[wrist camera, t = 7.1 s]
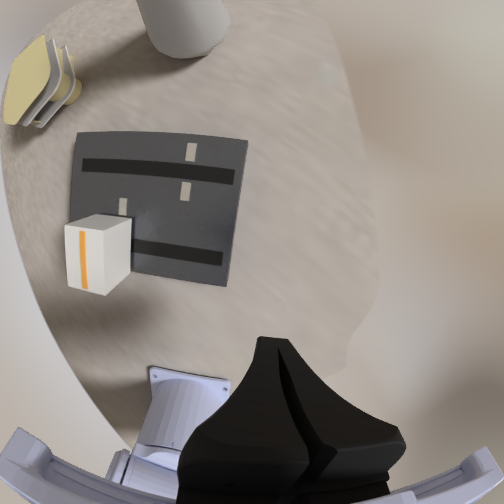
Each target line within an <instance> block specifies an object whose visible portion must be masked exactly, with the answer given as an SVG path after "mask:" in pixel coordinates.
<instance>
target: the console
mask: <svg viewBox="0 0 504 504" xmlns="http://www.w3.org/2000/svg"><path fill="white" fill-rule="evenodd" d="M247 148H248V141H247V140H240V139H232V138H224V137H215V136H206V135H195V134H182V133H165V132H136V131H109V132H81V133H77V137H76V144H75V151H74V160H73V169H72V182H71V199H70V223H71V222H74V221H77V220H80V219H83V218H86V217H89V216H92V215H95V214H100V215H108V216H116V217H124V218H132V223H131V250H130V271H134V272H139V273H144V274H150V275H155V276H161V277H167V278H173V279H179V280H185V281H191V282H197V283H203V284H209V285H216V286H222V287H226V286H227V281H228V276H229V269H230V261H231V254H232V247H233V240H234V233H235V226H236V219H237V212H238V206H239V199H240V193H241V186H242V180H243V173H244V167H245V160H246V154H247Z"/></svg>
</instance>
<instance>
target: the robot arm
mask: <svg viewBox="0 0 504 504" xmlns="http://www.w3.org/2000/svg"><path fill="white" fill-rule="evenodd" d="M149 372H150V382H151V392H152V401H151V404H150V407H149V409H148V412H147V415H146V417H145V420H144V423H143V425H142V428H141V431H140V434H139V436H138V439H137V442H136V444H135V446H134V448H133V450H132V453H131V455H130V451H128V450H126V449H123V450H122V451H121V450H120V451H117V452H116V453H115V454H114V457H113V459H112V462H111V464H110V466H109V469H108V472H107V474H106V477H105V478H102V477H99V476H97V475H95V474H92V473H90V472H87V471H85V470H83V469H81V468H78V467H76V466H74V465H72V464H70V463H68V462H66V461H64V460H62V459H60V458H58V457H57V456H54V455H53V454H52V452H51V450H50V449H49V447H48V446H47V445H46V444H44V443H43V442H42V441H41V440H39V439H38V438H36V437H35V436H33V435H31V434H29V433H28V432H26V431H25V430H23V429H22V428H20V427H18V428H17V430H16V431H15V432H14V434H13V435H12V437H11V439H10V440H9V442H8V443H7V445H6V446H5V448H4V449H3V451H2V452H1V454H0V479H2V480H3V481H4V482H5V483H6V484H7V485H8V486H9V487H11V488H12V489H13V490H14V491H15V492H17V493H18V494H19V495H20V496H21V497H23V498H24V499H25V500H27V501H28V502H30V503H31V504H473V503H475V502H476V501H478V500H479V499H480V498H481V497H483V496H484V495H485V494H487V493H488V492H489V491H490V490H492V489H493V488H494V487H495V486H496V485H497V484H499V483H500V482H501V481H502V480H503V479H504V475H503V473H502V471H501V470H500V468H499V467H498V465H497V463H496V461H495V460H494V458H493V457H492V455H491V453H490V452H489V450H488V449H487V447H486V446H484V447H482V448H480V449H479V450H477V451H475V452H473V453H472V454H470V455H469V456H468V457H466V458H465V459H464V460H463V461H462V462H461V464H460V465H458V466H456V467H454V468H452V469H450V470H447V471H445V472H443V473H440V474H438V475H436V476H433V477H431V478H429V479H426V480H423V481H421V482H418V483H415V484H412V485H409V486H406V487H403V488H400V489H397V490H394V491H389V488H388V485H387V483H386V481H388V480H389V474H388V470H389V469H390V468H391V467H392V466H393V465H394V464H395V463H396V462H397V461H398V460H399V459H400V458H401V456H402V455H403V454H404V452H405V450H406V443H405V441H404V439H403V437H402V435H401V433H400V431H399V429H398V427H397V426H394V425H392V424H389V423H387V422H384V421H382V420H379V419H377V418H375V417H373V416H371V415H369V414H367V413H365V412H363V411H362V410H360V409H358V408H356V407H355V406H353V405H352V404H350V403H349V402H347V401H346V400H344V399H343V398H342V397H340V396H339V395H338V394H336V393H335V392H334V391H333V390H332V389H331V388H329V387H328V386H327V385H326V384H325V383H324V382H323V381H322V380H321V379H320V378H319V377H318V376H317V375H316V374H315V373H314V372H313V370H312V369H311V368H310V367H309V366H308V365H307V363H306V362H305V361H304V360H303V358H302V357H301V356H300V354H299V353H298V352H297V350H296V349H295V348H294V346H293V345H292V344H291V342H290V341H289V340H288V339H282V338H272V337H263V336H260V337H258V338H257V343H256V348H255V352H254V357H253V361H252V363H251V365H250V367H249V369H248V371H247V373H246V375H245V376H244V378H243V380H242V381H241V383H240V384H239V386H238V387H237V388H236V390H235V391H234V392H233V394H232V395H231V396H230V397H229V394H230V387H231V382H230V381H228V380H223V379H216V378H210V377H203V376H198V375H192V374H186V373H181V372H176V371H171V370H167V369H162V368H158V367H151V368H150V371H149ZM155 375H156V376H155ZM224 387H225V388H224Z"/></svg>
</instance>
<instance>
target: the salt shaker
mask: <svg viewBox="0 0 504 504" xmlns="http://www.w3.org/2000/svg"><path fill="white" fill-rule="evenodd" d="M137 3H138V6H139V9H140V12H141V15H142V18H143V21H144V24H145V27H146V30H147V33H148V36H149V39H150V41H151V42H152V43H153V45H154V46H155V48H156V49H157V50H158V51H159V52H161V53H163V54H166V55H168V56H170V57H172V58H179V59H188V58H194V57H200V56H207V55H208V54H209V53H210V52H211V51H212V49H213V48H214V47H215V46H217V45H218V44H219V43H221V42H222V41H223V39H224V37H225V35H226V34H227V32H228V30H229V28H230V18H229V12H228V10H227V8H226V6H225V5H224V3H223V1H222V0H137Z"/></svg>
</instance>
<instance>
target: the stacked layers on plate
mask: <svg viewBox="0 0 504 504" xmlns="http://www.w3.org/2000/svg"><path fill="white" fill-rule="evenodd" d="M81 90H82V83H81V81H80V80H78V79H76V78H75V73H74V64H73V55H71V54H69V53H68V50H67V47H66V46H65V45H64V46H63V47H61V48H58V47H56V46H55V41H54V39H50V40H49V41H48V42H47V43H46V42H45V37H44V34H43V35H42V36H40V37H39V38H38V39H37V40H36V41H34V42H33V43H32V44H31V45H30V46H29V47H28V48H26V49H25V50H24V51H23V52H22V53H21V54H20V55H19V56H18V57H17V58H16V59H15V60H14V61H13V63H12V67H11V71H10V76H9V80H8V85H7V91H6V97H5V103H4V123H7V124H11V125H15V124H18V125H22V126H28V125H31V126H34V127H38V128H42V127H43V126H45V124H46V123H47V122H48V121H49V120H50V118H51V117H52V116H53V115H54V114H55V113H56V112H57V110H58V109H59V108H60V107H61V106H62V105H63V104H64V105H70V104H72V103H74V102H75V101H76V100H77V99H78V97H79V95H80V93H81Z"/></svg>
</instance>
